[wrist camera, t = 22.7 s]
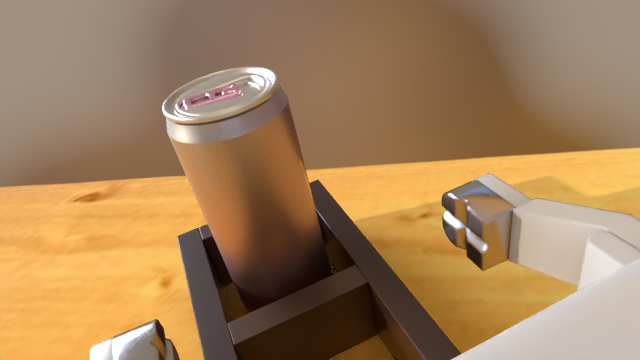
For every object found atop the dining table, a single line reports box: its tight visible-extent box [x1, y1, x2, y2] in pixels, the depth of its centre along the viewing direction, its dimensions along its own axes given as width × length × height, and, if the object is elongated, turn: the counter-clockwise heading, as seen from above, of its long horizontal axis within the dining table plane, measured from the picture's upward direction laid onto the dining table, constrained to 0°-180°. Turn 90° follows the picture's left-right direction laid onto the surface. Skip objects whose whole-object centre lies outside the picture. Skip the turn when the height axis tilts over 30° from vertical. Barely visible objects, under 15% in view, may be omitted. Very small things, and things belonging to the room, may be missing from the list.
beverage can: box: [162, 67, 332, 314], centre depth 25 cm, size 6×6×15 cm
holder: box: [177, 180, 461, 360], centre depth 24 cm, size 10×20×4 cm, turn 23°
